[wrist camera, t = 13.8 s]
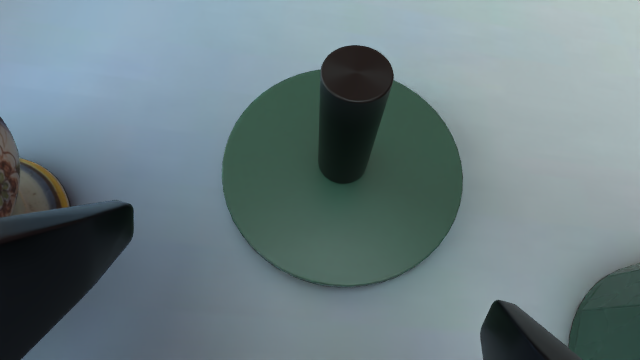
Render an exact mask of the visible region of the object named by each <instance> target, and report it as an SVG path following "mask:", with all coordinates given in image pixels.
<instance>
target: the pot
mask: <svg viewBox="0 0 640 360" xmlns="http://www.w3.org/2000/svg"><path fill="white" fill-rule="evenodd" d="M569 349H570V350H572V351H573V352H574V353H575V354H577V355H578V356H579V357H580V358H581V359H583V360H640V263H637V264H635V265H632V266H629V267H625V268H622V269H619V270H617V271H615V272H613V273H611V274H609V275H607V276H606V277H605V278H603V279H602V280H601V281H599V282H598V283H597V284H596V285H595V286H594V287H593V288H592V289H591V290H590V291H589V292H588V294H587V295H586V296H585V298H584V300H583V301H582V303H581V304H580V306H579V308H578V311H577V313H576V315H575V318H574V320H573V325H572V329H571V333H570V339H569Z"/></svg>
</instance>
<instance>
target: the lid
mask: <svg viewBox="0 0 640 360" xmlns="http://www.w3.org/2000/svg"><path fill="white" fill-rule="evenodd" d="M393 79H394V74H393V70H392V67H391V65H390V63H389V61H388V60H387V59H386V58H385V57H384V56H383V55H382V54H381V53H379V52H378V51H376V50H374V49H372V48H369V47H365V46H359V45H351V46H345V47H342V48H339V49H337V50H335V51H333V52H332V53H331V54H329V55H328V56H327V58H326V59H325V60H324V62H323V64H322V66H321V70H315V71H310V72H306V73H302V74H298V75H296V76H293V77H291V78H288V79H286V80H284V81H282V82H280V83H278V84H276V85H274V86H272V87H271V88H269V89H268V90H267V91H265V92H264V93H262V94H261V95H260V96H259V97H258V98H256V99H255V100H254V101H253V102H252V103H251V104H250V105H249V106H248V108H247V109H246V110H245V111H244V112H243V113H242V115H241V116H240V118H239V119H238V121H237V122H236V124H235V126H234V128H233V130H232V132H231V134H230V136H229V139H228V141H227V144H226V147H225V151H224V157H223V162H222V184H223V192H224V196H225V200H226V204H227V207H228V209H229V212H230V214H231V216H232V219H233V221H234V223H235V224H236V226H237V228H238V229H239V231H240V232H241V234H242V236H243V237H244V238H245V239H246V240H247V242H248V243H249V244H250V245H251V247H252V248H253V249H254V250H255V251H256V252H257V253H259V254H260V255H261V256H262V257H263V258H264V259H265V260H266V261H268V262H269V263H271V264H272V265H274V266H275V267H277V268H278V269H280V270H282V271H284V272H286V273H288V274H290V275H292V276H294V277H296V278H299V279H302V280H305V281H308V282H311V283H315V284H320V285H325V286H332V287H358V286H367V285H371V284H376V283H380V282H383V281H386V280H389V279H392V278H394V277H397V276H399V275H401V274H403V273H404V272H406V271H408V270H410V269H412V268H413V267H415V266H416V265H417V264H419V263H420V262H421V261H423V260H424V259H425V258H427V257H428V256H429V255H430V254H431V253H432V252H433V251H434V250H435V249H436V248H437V247H438V246H439V244H440V243H441V242H442V240H443V239H444V238H445V236H446V235H447V233H448V232H449V230H450V228H451V226H452V224H453V222H454V220H455V218H456V215H457V212H458V209H459V206H460V201H461V195H462V182H463V175H462V167H461V160H460V157H459V153H458V149H457V146H456V144H455V142H454V139H453V137H452V135H451V133H450V131H449V129H448V128H447V126H446V124H445V123H444V121H443V120H442V119H441V117H440V116H439V115H438V113H437V112H436V111H435V110H434V109H433V108H432V107H431V106H430V105H429V104H428V103H427V102H426V101H425V100H424V99H422V98H421V97H420V96H419V95H417V94H416V93H415V92H413V91H412V90H410V89H409V88H407V87H406V86H404V85H402V84H400V83H398V82H396V81H394V80H393Z"/></svg>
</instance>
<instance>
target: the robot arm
mask: <svg viewBox="0 0 640 360" xmlns="http://www.w3.org/2000/svg"><path fill="white" fill-rule="evenodd" d="M133 232H134V211H133V207H132V205H131V204H129V203H125V202H122V201H118V200H112V201H106V202H99V203H92V204H86V205H79V206H73V207H66V208H59V209H53V210H46V211H40V212H33V213H26V214H20V215H13V216H7V217H0V360H21V359H22V358H23V357H24V356H25V355H26V354H27V353H28V352H29V351H30V350H31V349H32V348H33V347H34V346H35V345H36V344H37V343H38V342H39V341H40V340H41V339H42V338H43V337H44V336H45V335H46V334H47V333H48V332H49V331H50V330H51V329H52V328H53V327H54V326H55V325H56V324H57V323H58V322H59V321H60V320H61V319H62V318H63V317H64V316H65V315H66V314H67V313H68V312H69V311H70V310H71V309H72V308H73V307H74V306H75V305H76V304H77V303H78V302H79V301H80V300H81V299H82V298H83V297H84V296H85V295H86V294H87V293H88V292H89V291H90V290H91V288H92V287H93V286H94V285H95V284H96V283H97V282H98V280H99V279H100V278H101V277H102V276H103V274H104V273H105V272H106V271H107V269H108V268H109V267H110V266H111V265H112V263H113V262H114V261H115V260H116V259H117V257H118V256H119V255H120V254H121V253H122V251H123V250H124V249H125V248H126V246H127V245H128V244H129V243H130V241H131V239H132V237H133ZM480 338H481V346H482V354H483V360H583V359H581V358H580V357H579V356H578V355H577V354H575V353H574V352H573V351H572V350H570V349H569V348H568V347H567V346H566V345H564V344H563V343H562V342H561V341H559V340H558V339H557V338H556V337H555V336H553V335H552V334H551V333H550V332H548V331H547V330H546V329H545V328H544V327H542V326H541V325H540V324H539V323H537V322H536V321H535V320H534V319H533V318H531V317H530V316H529V315H528V314H526V313H525V312H524V311H523V310H522V309H520V308H519V307H518V306H517V305H515V304H513V303H509V302H505V301H501V300H496V301H494V302H493V304H492V305H491V308H490V310H489V312H488V314H487V316H486V318H485V321H484V323H483V325H482V327H481V332H480Z"/></svg>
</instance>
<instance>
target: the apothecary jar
mask: <svg viewBox="0 0 640 360" xmlns="http://www.w3.org/2000/svg"><path fill="white" fill-rule="evenodd" d="M66 207H70V205H69V201H68V198H67V195H66V193H65V191H64V189H63V187H62V185H61V184H60V182H59V181H58V180H57V179H56V177H55V176H54V175H53V174H52V173H50V172H49V171H48V170H47V169H45V168H44V167H42V166H40V165H38V164H36V163H34V162H31V161H28V160H24V159H21V158H19V155H18V150H17V147H16V144H15V141H14V139H13V137H12V134H11V133H10V131H9V129H8V127H7V126H6V124H5V123H4V121H3V120H2V118H1V117H0V217H7V216H13V215H20V214H26V213H33V212H40V211H46V210H53V209H59V208H66Z"/></svg>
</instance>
